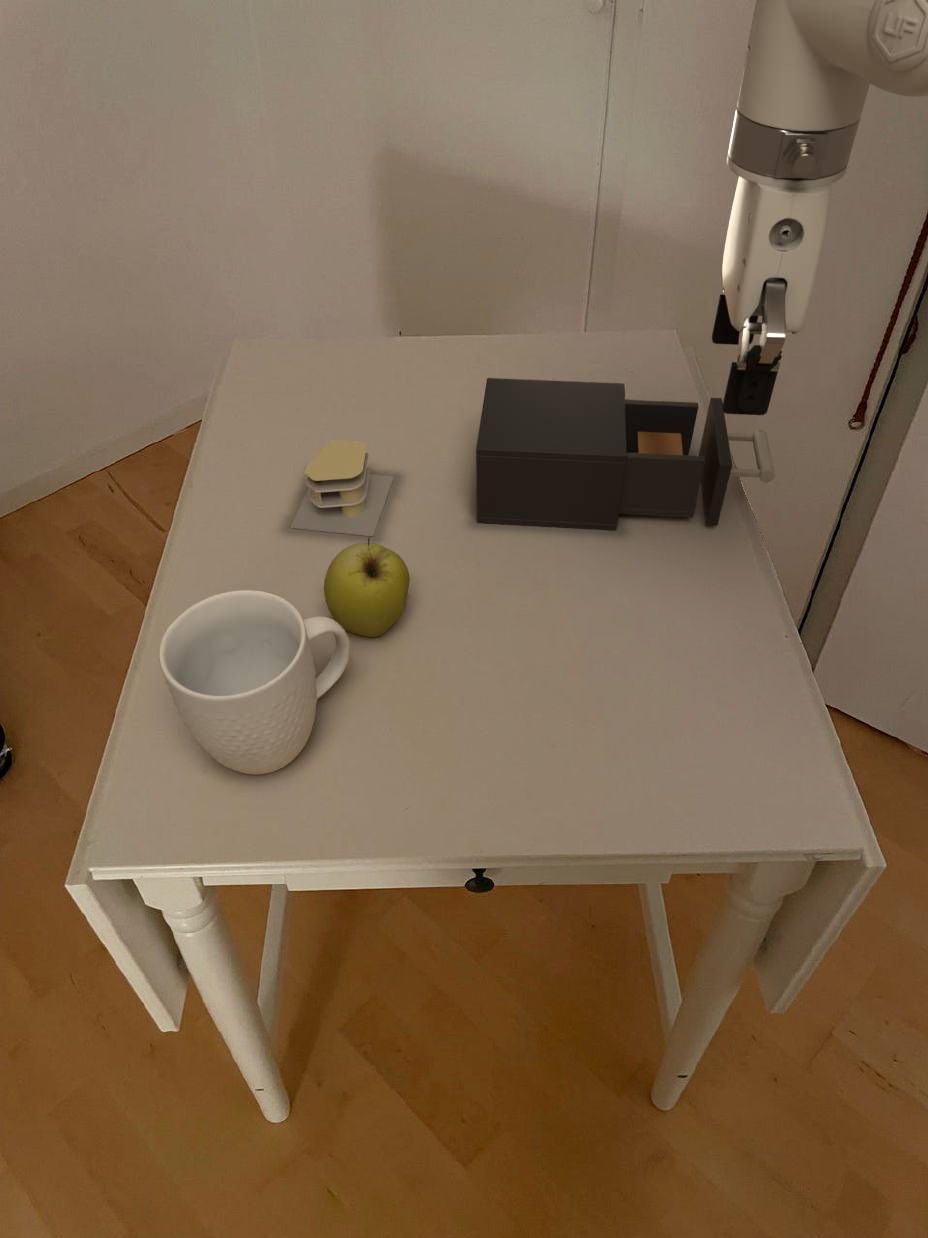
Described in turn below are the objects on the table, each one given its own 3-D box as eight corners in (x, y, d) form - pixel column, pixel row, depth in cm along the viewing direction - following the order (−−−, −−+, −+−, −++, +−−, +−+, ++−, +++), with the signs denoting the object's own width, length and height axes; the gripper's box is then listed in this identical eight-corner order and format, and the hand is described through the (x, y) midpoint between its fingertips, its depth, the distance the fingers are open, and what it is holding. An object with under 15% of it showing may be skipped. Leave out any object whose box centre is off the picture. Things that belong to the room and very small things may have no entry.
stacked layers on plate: (316, 469, 103) (309, 428, 99) (394, 476, 102) (390, 436, 98) (290, 528, 96) (281, 487, 92) (373, 536, 95) (367, 495, 91)
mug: (320, 651, 85) (299, 546, 75) (391, 724, 79) (377, 622, 69) (175, 736, 78) (131, 634, 69) (239, 823, 73) (201, 725, 63)
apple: (309, 594, 88) (327, 513, 82) (388, 596, 91) (412, 518, 85) (322, 654, 83) (342, 574, 76) (405, 654, 86) (432, 576, 79)
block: (674, 467, 99) (681, 433, 96) (676, 494, 96) (683, 459, 93) (632, 465, 99) (637, 431, 96) (633, 492, 96) (638, 457, 93)
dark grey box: (615, 456, 104) (624, 383, 97) (616, 530, 95) (626, 456, 88) (487, 450, 105) (486, 377, 98) (476, 523, 96) (476, 448, 89)
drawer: (754, 459, 101) (770, 399, 96) (766, 528, 94) (785, 467, 88) (586, 452, 103) (592, 392, 97) (585, 518, 95) (592, 458, 89)
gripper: (879, 200, 52) (803, 445, 65) (828, 95, 64) (772, 320, 76) (745, 197, 53) (695, 440, 65) (719, 94, 65) (681, 317, 77)
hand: (737, 375), depth 71 cm, fingers open, 9 cm apart
